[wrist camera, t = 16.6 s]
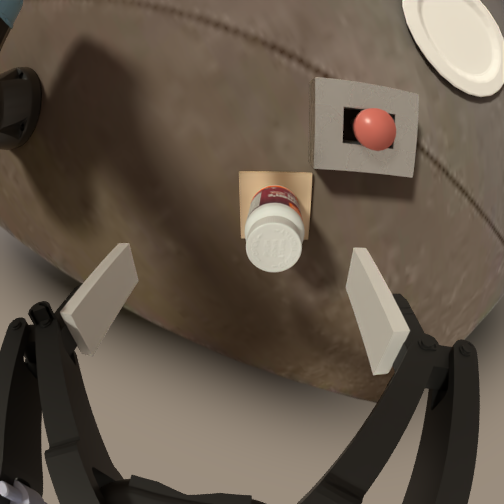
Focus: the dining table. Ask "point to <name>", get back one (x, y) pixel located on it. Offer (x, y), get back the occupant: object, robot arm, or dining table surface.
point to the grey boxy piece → (352, 152)
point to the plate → (459, 42)
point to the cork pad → (259, 179)
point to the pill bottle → (274, 229)
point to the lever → (374, 129)
